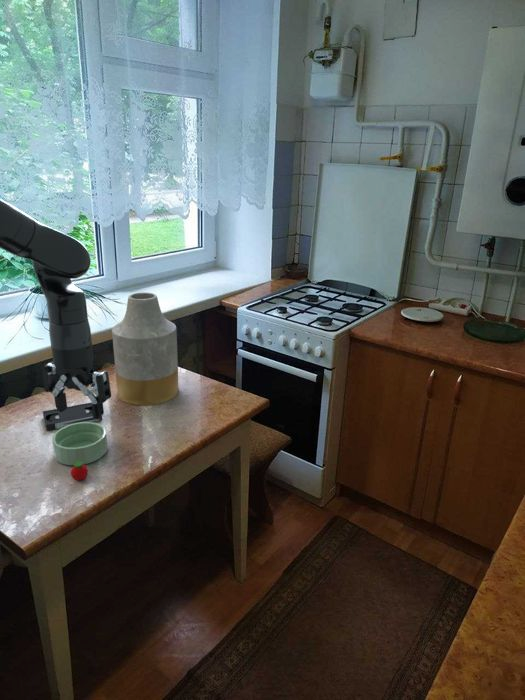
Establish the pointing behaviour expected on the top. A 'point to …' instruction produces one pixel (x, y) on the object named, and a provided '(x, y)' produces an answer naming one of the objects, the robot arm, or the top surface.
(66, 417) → the vhs tape
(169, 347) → the vase
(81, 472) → the strawberry
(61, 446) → the bowl
